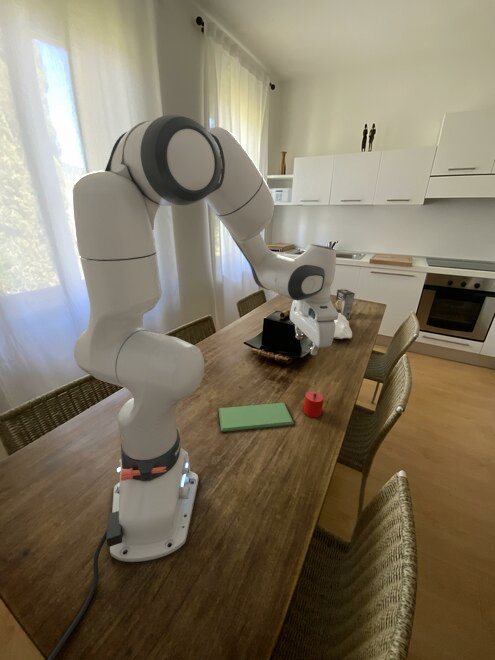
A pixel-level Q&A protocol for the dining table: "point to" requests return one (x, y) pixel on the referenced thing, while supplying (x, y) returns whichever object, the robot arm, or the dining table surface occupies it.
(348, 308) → the coffee box
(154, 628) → the dining table surface
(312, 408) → the pepper
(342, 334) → the crumpled cloth
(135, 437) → the robot arm
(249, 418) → the towel
